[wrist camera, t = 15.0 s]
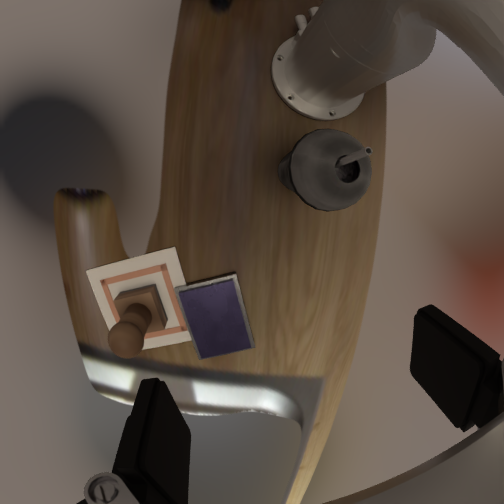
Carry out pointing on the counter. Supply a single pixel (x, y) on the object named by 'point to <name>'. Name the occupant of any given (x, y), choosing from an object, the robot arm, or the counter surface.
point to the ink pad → (215, 316)
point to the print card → (138, 275)
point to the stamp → (136, 320)
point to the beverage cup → (327, 169)
